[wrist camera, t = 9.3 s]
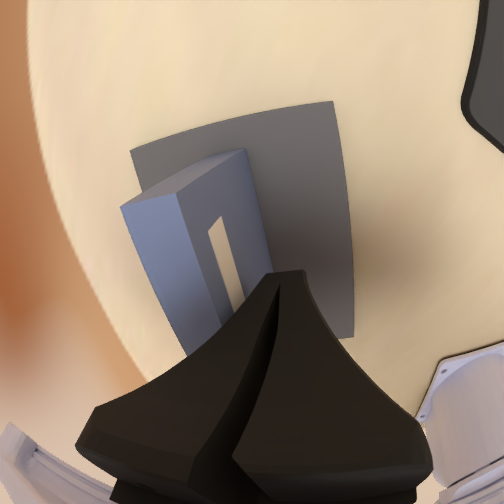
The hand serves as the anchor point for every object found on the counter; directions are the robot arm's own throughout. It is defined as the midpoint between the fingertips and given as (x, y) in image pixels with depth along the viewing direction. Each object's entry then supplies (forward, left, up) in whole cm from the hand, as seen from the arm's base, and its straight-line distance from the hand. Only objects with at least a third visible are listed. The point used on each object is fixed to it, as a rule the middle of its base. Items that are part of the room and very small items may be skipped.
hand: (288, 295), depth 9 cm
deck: (0, +2, -3) cm, 4 cm away
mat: (0, +2, -4) cm, 4 cm away
